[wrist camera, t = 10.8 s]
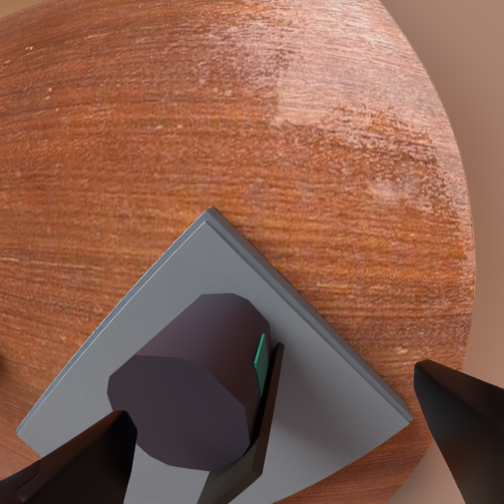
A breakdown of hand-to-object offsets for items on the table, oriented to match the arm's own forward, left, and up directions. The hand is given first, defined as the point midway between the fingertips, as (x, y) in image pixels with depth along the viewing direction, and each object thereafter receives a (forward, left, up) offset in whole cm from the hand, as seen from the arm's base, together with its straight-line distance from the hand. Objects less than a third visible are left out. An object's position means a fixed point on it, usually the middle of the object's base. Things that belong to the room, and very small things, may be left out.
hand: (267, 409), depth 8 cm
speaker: (+3, +2, -10) cm, 11 cm away
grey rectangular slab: (+10, +13, -13) cm, 20 cm away
